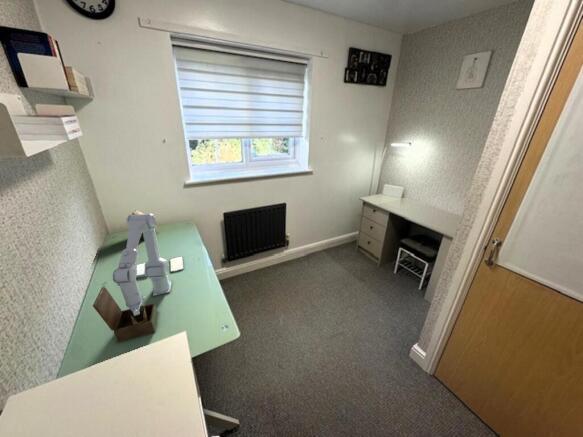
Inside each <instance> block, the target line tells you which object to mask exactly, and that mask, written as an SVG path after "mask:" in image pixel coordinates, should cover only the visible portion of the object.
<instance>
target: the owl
mask: <svg viewBox="0 0 583 437" xmlns="http://www.w3.org/2000/svg"><path fill="white" fill-rule="evenodd" d="M131 214H132V215H137V214H144V213H143V212H141V211H139V210H137V209H135V210H134V211H133V212H132V213H131ZM154 229H155V234H156V235H157V234H158V232H159V231H158V230H157V228H154ZM140 239H141V240H144V236H143V233H142V234H141V237H140Z"/></svg>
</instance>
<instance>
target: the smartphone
mask: <svg viewBox="0 0 583 437" xmlns="http://www.w3.org/2000/svg"><path fill="white" fill-rule="evenodd" d="M169 261H170V262H169V263H170V264H169V267H170V273H174V272H179V271H183V270H184V261H183V256H176V257H172V258H170V259H169Z"/></svg>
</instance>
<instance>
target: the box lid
mask: <svg viewBox="0 0 583 437" xmlns="http://www.w3.org/2000/svg"><path fill="white" fill-rule="evenodd" d="M92 307H93V308H94V310H95V311H96V312H97V314H98V315H99V316H100V317H101V319H102V320H103V322H104V323H105V324H106V326H107V327H108V328H109V329H110V331H111V332H114V329H115V326H116V323H117V320H118V318H119V315H120V312H121V311H122V309H121V308H120V305H118V303H117V302H116V300H115V299H114V298H113V296H112V294H111V292H109V290H108V289H107V287H106V286H105V285H103V286H101V288H100V290H99V292H98V294H97V296H96V298H95V300H94V302H93V304H92Z"/></svg>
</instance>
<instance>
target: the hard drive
mask: <svg viewBox="0 0 583 437" xmlns="http://www.w3.org/2000/svg"><path fill="white" fill-rule="evenodd" d="M145 263H146V262H145ZM145 263H139V264H136V266H137V276H136V279H138V278H143V277H147V276H146V275H145V272H144V271H145V266H144V265H145Z"/></svg>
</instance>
